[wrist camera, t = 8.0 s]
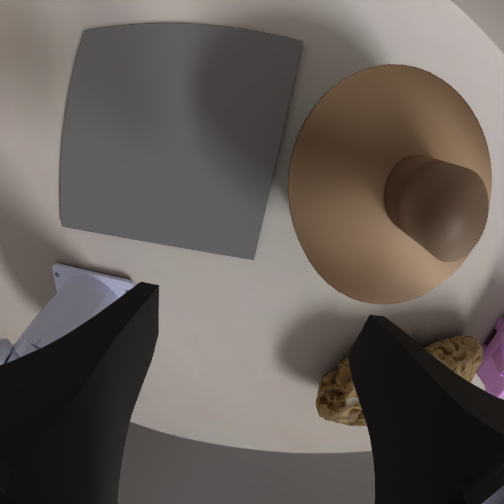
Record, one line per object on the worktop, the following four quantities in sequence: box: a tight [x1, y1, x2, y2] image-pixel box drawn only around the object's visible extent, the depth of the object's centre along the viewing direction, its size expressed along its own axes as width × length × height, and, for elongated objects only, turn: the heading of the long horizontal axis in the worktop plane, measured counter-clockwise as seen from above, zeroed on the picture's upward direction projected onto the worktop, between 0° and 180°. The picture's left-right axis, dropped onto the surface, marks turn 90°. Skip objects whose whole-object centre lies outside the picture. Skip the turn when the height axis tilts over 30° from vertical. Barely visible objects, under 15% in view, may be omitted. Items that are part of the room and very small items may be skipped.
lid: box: [288, 64, 492, 304], centre depth 10 cm, size 13×13×4 cm
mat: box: [60, 23, 303, 260], centre depth 15 cm, size 15×15×1 cm
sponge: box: [316, 336, 483, 426], centre depth 22 cm, size 13×8×20 cm
